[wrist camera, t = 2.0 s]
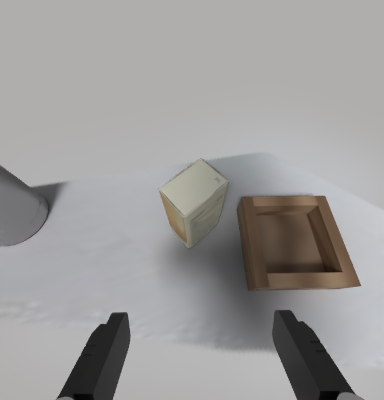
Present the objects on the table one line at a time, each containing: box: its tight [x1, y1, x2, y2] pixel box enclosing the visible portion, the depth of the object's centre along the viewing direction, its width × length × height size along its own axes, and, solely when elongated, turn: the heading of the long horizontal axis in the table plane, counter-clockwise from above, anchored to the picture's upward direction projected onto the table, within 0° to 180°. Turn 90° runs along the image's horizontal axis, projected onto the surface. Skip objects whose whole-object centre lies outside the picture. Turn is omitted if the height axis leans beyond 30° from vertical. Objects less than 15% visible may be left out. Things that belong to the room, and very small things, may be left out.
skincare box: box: [159, 158, 229, 249], centre depth 25 cm, size 6×4×12 cm
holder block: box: [237, 196, 361, 290], centre depth 27 cm, size 12×12×4 cm
